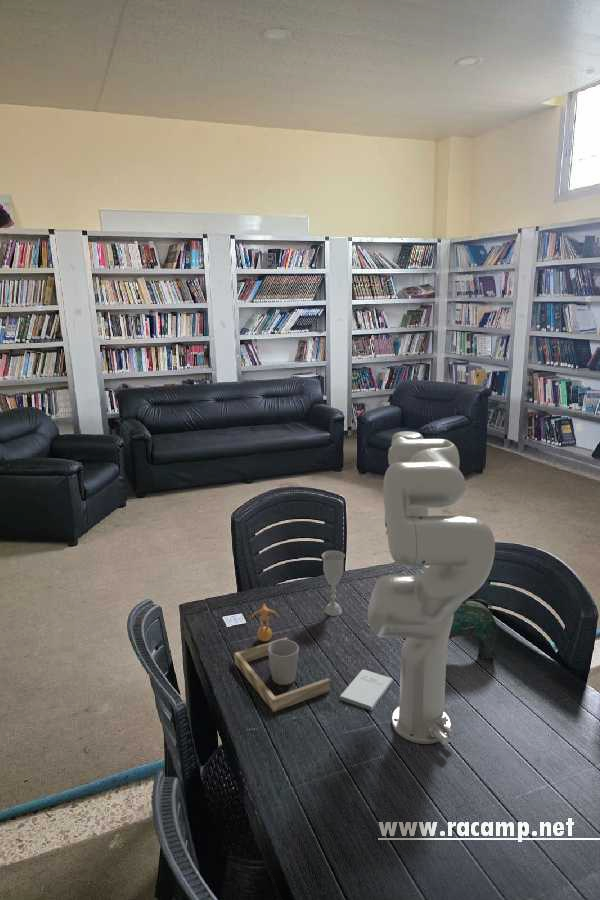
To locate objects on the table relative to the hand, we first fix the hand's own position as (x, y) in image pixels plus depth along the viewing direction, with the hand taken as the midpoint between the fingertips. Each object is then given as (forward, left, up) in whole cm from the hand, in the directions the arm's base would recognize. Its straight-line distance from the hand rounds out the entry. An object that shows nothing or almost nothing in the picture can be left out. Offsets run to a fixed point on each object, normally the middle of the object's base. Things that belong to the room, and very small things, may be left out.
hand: (404, 554), depth 153 cm
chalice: (+30, +2, -29) cm, 42 cm away
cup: (+9, +29, -29) cm, 43 cm away
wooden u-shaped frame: (+9, +30, -29) cm, 43 cm away
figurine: (+25, +27, -29) cm, 47 cm away
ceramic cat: (-6, -13, -29) cm, 33 cm away
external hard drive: (-6, +15, -30) cm, 34 cm away
